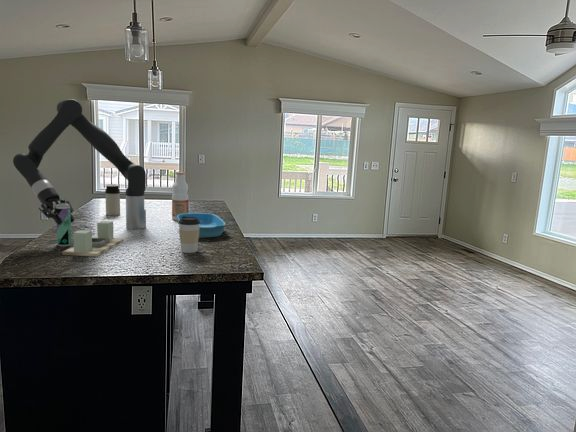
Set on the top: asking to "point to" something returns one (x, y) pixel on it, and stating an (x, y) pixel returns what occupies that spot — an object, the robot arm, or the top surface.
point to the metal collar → (99, 242)
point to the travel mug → (112, 199)
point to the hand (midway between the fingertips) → (66, 222)
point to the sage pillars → (85, 237)
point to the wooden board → (94, 249)
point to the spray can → (64, 224)
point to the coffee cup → (189, 234)
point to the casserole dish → (207, 224)
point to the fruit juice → (179, 196)
